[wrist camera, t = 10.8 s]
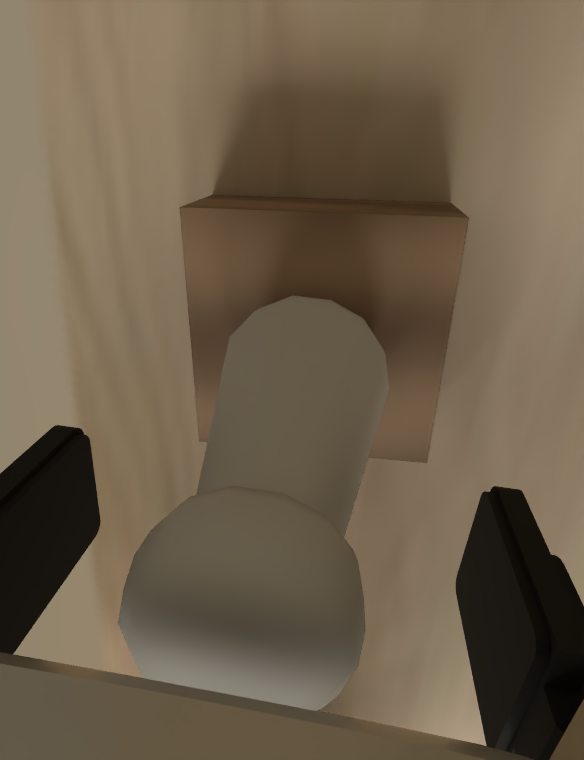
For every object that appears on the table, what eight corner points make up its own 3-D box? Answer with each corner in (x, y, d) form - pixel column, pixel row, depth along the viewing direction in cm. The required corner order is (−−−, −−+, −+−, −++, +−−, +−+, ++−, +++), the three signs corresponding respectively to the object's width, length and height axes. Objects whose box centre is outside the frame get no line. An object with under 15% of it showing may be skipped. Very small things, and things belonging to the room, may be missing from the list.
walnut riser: (418, 415, 24) (427, 462, 21) (222, 398, 25) (199, 441, 22) (451, 203, 20) (468, 217, 16) (211, 195, 21) (179, 207, 17)
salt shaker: (210, 328, 19) (-22, 611, 8) (332, 247, 17) (257, 470, 6) (294, 436, 21) (204, 798, 10) (414, 374, 19) (481, 742, 8)
